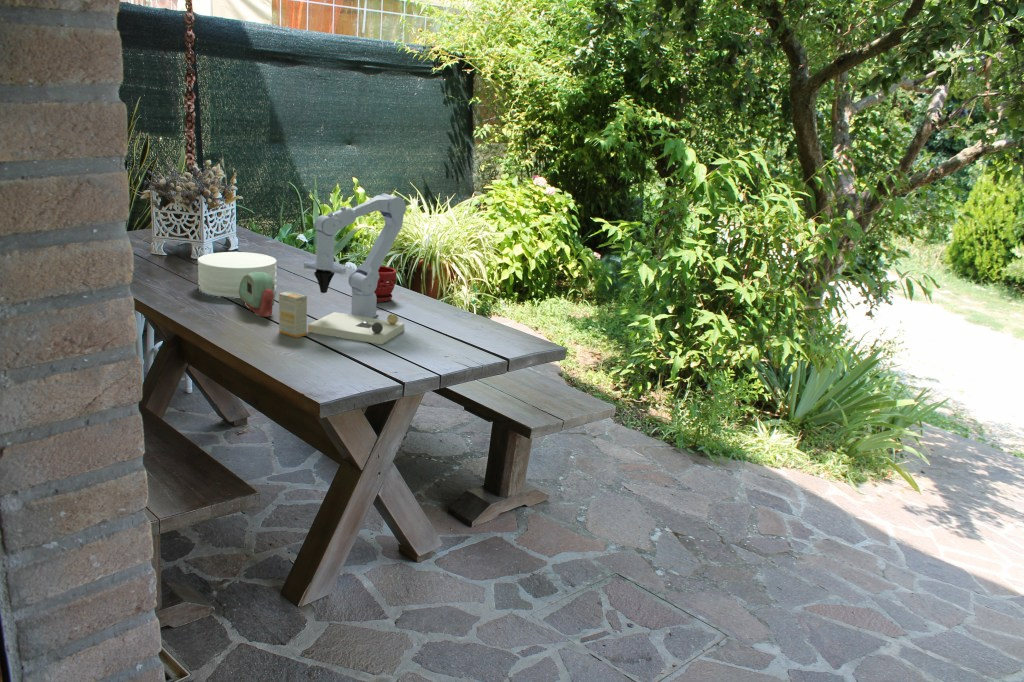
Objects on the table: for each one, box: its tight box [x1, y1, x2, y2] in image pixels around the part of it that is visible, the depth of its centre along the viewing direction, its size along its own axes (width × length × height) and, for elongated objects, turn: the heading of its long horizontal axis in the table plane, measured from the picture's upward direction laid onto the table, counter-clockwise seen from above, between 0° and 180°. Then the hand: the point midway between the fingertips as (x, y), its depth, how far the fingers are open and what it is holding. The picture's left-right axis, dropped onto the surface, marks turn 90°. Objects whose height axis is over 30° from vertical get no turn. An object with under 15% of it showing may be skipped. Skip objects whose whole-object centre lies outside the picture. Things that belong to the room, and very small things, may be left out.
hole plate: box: [307, 311, 405, 345], centre depth 283 cm, size 18×26×2 cm
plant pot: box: [374, 265, 397, 303], centre depth 324 cm, size 13×13×12 cm
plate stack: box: [197, 251, 278, 297], centre depth 322 cm, size 28×28×12 cm
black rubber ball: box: [372, 322, 383, 333], centre depth 274 cm, size 4×4×4 cm
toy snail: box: [239, 272, 276, 318], centre depth 296 cm, size 25×8×14 cm, turn 33°
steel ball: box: [360, 322, 370, 328], centre depth 283 cm, size 4×4×4 cm
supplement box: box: [278, 291, 308, 338], centre depth 274 cm, size 8×5×13 cm, turn 55°
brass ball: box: [386, 313, 399, 324], centre depth 285 cm, size 4×4×4 cm
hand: (323, 292), depth 287 cm, fingers closed
